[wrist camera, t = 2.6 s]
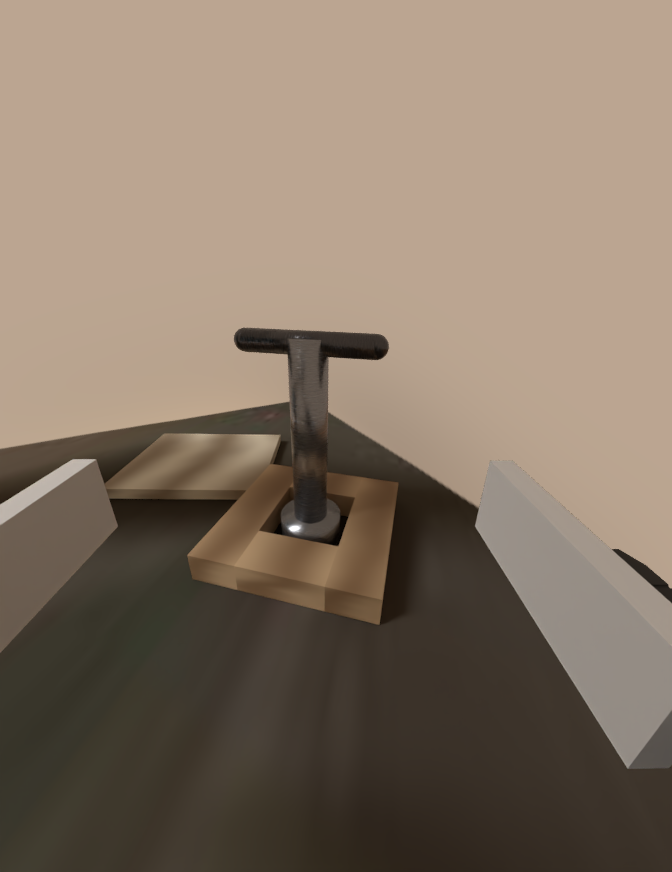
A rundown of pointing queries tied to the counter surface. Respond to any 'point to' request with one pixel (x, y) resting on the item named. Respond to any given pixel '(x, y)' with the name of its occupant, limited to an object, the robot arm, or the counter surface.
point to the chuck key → (310, 417)
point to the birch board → (195, 467)
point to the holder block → (303, 547)
